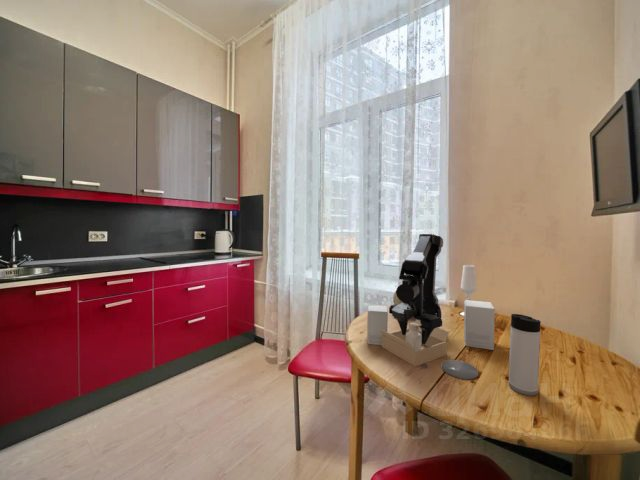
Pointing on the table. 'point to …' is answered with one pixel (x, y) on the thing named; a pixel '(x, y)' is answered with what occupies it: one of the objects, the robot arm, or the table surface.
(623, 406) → the table surface
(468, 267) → the champagne flute
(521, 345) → the travel mug
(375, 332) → the supplement box
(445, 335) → the carton
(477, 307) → the supplement box
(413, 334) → the salt shaker
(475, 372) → the coaster
